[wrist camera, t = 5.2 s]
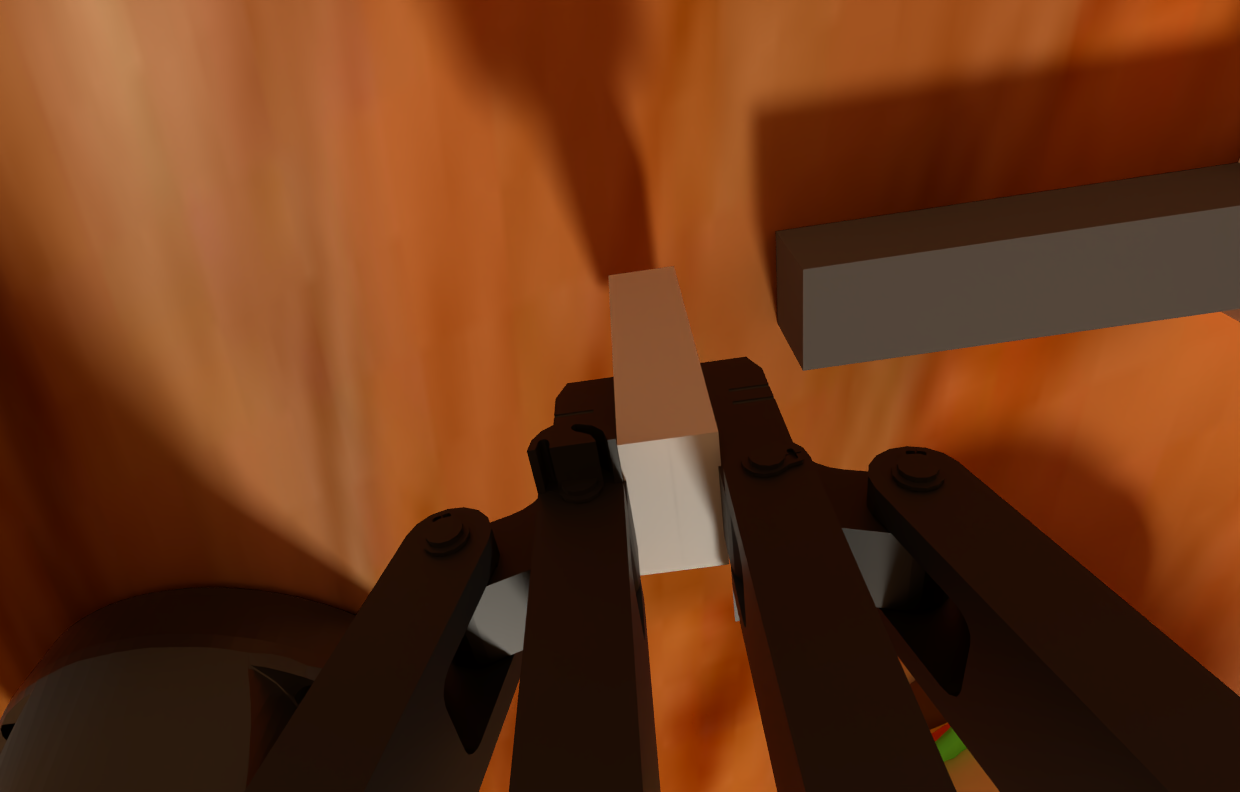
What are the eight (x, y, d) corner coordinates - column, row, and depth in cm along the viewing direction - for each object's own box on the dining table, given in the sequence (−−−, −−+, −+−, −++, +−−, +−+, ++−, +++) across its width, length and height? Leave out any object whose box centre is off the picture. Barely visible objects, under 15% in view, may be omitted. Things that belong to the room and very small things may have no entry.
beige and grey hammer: (778, 356, 19) (868, 537, 13) (775, 190, 16) (883, 318, 10) (1389, 269, 18) (1781, 417, 12) (1477, 84, 16) (2015, 156, 10)
